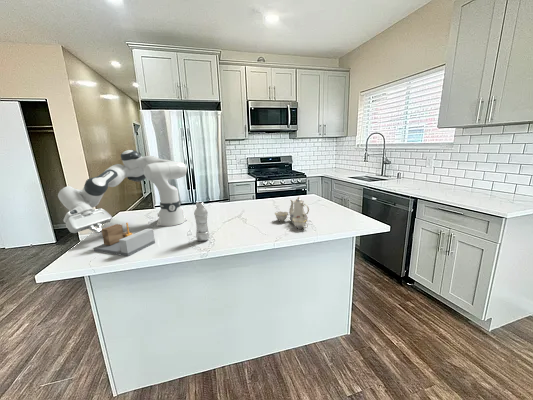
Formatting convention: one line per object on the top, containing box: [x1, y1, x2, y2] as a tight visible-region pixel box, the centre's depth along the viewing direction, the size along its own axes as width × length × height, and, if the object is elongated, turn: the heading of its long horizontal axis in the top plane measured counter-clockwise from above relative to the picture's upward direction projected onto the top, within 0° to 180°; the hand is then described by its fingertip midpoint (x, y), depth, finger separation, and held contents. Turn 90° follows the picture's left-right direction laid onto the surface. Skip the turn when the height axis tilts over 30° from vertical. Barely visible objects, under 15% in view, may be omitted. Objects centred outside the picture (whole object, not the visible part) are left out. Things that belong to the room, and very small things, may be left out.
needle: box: [125, 222, 133, 237], centre depth 127 cm, size 2×3×8 cm, turn 160°
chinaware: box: [274, 196, 310, 230], centre depth 147 cm, size 28×17×17 cm, turn 38°
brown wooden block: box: [101, 223, 132, 245], centre depth 124 cm, size 4×12×8 cm, turn 160°
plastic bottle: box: [193, 201, 210, 242], centre depth 124 cm, size 6×7×20 cm
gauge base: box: [93, 228, 156, 257], centre depth 120 cm, size 22×16×8 cm
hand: (99, 232), depth 124 cm, fingers closed
